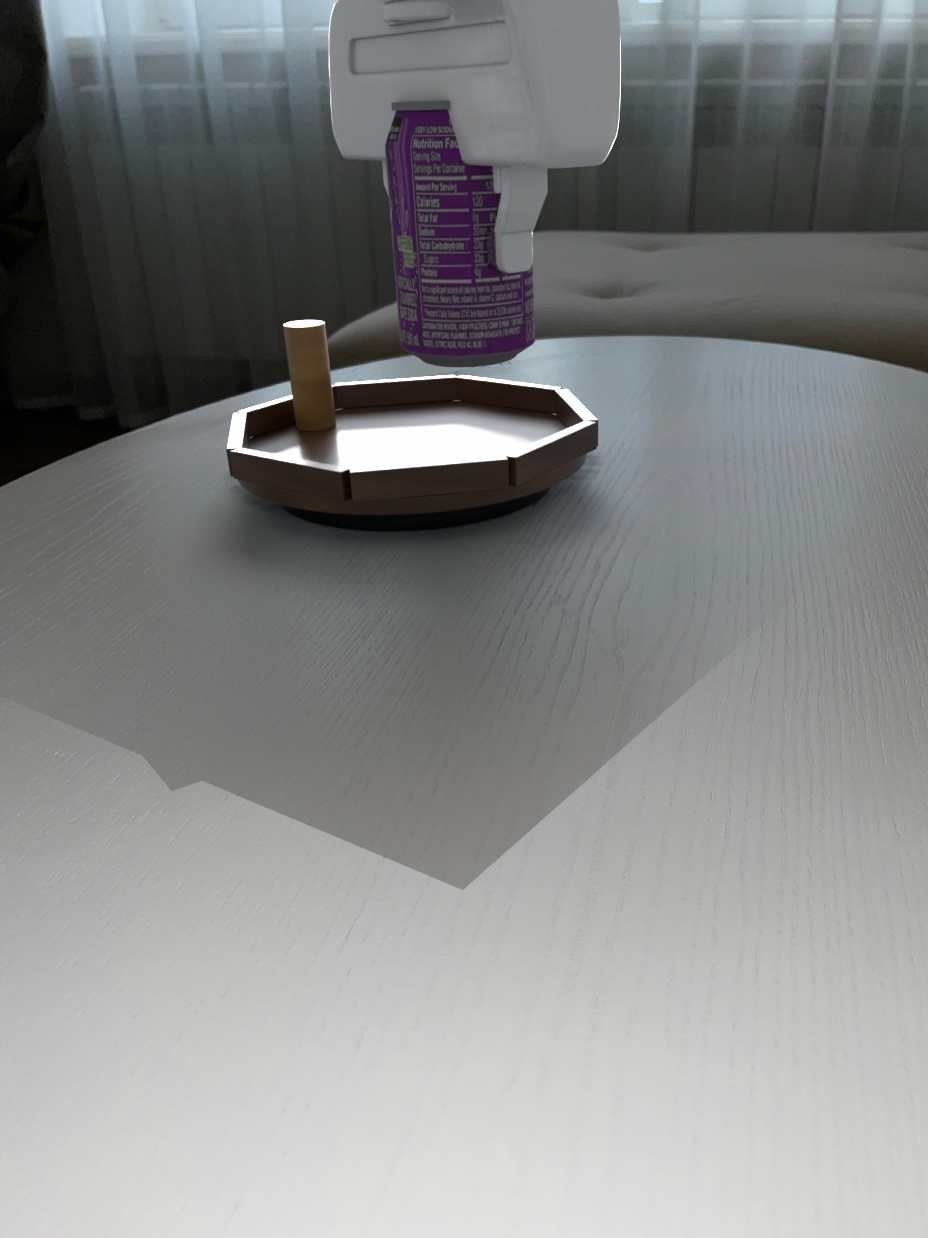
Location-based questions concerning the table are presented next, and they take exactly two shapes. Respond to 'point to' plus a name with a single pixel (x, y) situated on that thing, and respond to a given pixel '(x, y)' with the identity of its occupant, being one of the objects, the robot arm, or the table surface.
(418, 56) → the robot arm
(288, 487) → the tray
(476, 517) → the turntable base
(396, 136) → the beverage can
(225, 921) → the table surface
